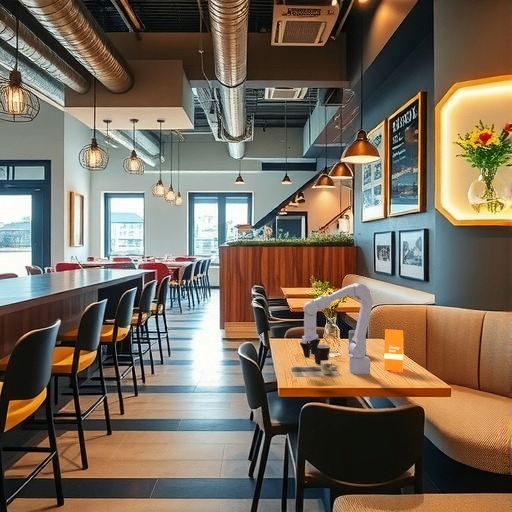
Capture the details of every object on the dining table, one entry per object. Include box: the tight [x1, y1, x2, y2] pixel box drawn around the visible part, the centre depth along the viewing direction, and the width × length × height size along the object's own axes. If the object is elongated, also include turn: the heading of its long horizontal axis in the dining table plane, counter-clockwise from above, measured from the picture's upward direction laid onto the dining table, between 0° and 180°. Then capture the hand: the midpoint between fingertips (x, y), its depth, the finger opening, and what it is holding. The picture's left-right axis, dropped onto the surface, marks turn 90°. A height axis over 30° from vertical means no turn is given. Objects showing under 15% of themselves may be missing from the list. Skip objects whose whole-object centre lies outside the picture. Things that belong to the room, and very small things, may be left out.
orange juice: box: [383, 328, 404, 373], centre depth 230 cm, size 8×9×20 cm
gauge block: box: [320, 360, 333, 374], centre depth 217 cm, size 4×8×5 cm, turn 4°
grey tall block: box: [348, 329, 367, 356], centre depth 263 cm, size 10×10×15 cm
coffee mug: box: [314, 344, 331, 365], centre depth 237 cm, size 12×9×10 cm
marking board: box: [290, 365, 342, 378], centre depth 217 cm, size 22×12×3 cm, turn 94°
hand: (310, 356), depth 217 cm, fingers open, 7 cm apart
